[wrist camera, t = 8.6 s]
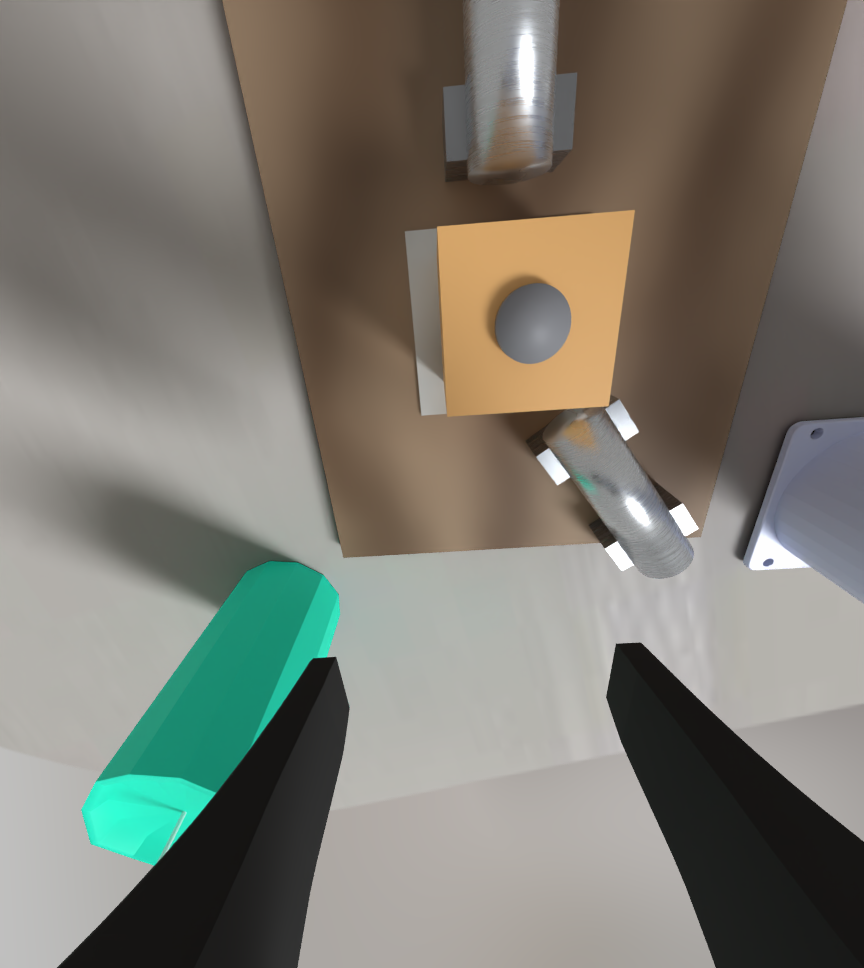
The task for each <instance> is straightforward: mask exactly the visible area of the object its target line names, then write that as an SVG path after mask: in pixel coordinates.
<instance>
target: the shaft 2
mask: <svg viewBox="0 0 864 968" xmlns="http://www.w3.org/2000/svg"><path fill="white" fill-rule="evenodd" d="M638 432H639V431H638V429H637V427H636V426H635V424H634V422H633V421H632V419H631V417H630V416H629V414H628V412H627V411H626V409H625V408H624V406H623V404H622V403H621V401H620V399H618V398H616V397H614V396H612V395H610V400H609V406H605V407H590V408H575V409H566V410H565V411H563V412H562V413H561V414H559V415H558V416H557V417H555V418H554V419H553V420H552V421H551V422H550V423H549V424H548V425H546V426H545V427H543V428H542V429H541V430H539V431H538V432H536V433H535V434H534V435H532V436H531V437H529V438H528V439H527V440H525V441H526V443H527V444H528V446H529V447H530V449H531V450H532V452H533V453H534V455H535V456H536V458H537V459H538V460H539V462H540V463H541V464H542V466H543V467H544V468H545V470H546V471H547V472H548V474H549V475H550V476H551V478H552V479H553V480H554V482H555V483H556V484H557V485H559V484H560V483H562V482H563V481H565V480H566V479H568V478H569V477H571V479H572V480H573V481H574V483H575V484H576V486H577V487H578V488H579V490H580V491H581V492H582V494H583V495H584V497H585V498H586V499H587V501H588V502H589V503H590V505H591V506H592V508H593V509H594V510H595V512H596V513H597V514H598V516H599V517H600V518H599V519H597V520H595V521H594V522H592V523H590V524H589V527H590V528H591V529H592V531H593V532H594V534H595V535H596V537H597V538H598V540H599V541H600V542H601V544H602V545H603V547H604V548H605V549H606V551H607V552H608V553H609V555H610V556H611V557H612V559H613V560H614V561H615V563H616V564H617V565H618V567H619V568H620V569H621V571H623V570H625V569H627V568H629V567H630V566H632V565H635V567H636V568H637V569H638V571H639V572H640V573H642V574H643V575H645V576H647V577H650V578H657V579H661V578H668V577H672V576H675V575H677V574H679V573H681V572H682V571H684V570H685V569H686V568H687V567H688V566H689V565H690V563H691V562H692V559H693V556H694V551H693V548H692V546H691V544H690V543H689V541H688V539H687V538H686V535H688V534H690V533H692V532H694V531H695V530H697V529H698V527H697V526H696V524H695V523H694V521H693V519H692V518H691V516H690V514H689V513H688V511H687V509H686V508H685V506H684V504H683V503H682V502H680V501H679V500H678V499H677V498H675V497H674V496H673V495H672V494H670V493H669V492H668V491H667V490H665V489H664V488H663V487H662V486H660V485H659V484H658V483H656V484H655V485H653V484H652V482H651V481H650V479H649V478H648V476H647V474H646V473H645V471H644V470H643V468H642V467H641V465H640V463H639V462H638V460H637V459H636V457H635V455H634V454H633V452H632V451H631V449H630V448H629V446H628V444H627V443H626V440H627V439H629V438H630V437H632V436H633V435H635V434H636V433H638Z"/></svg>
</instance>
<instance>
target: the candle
mask: <svg viewBox="0 0 864 968" xmlns="http://www.w3.org/2000/svg"><path fill="white" fill-rule="evenodd" d="M339 616H340V608H339V594H338V593H337V592H336V591H335V589H334V588H333V587H332V585H331V584H330V583H329V582H328V580H327V579H326V578H325V577H324V575H322V574H320V573H318V572H316V571H314V570H312V569H310V568H308V567H306V566H304V565H302V564H300V563H298V562H278V561H268V562H266V563H264V564H262V565H259V566H257V567H255V568H253V569H251V570H248V571H247V572H246V573H245V574H244V576H243V577H242V579H241V580H240V581H239V583H238V584H237V586H236V587H235V588H234V590H233V591H232V593H231V594H230V595H229V597H228V598H227V600H226V601H225V602H224V604H223V605H222V607H221V608H220V609H219V611H218V612H217V614H216V615H215V616H214V618H213V619H212V620H211V622H210V623H209V625H208V626H207V627H206V629H205V630H204V632H203V633H202V634H201V636H200V637H199V639H198V640H197V641H196V643H195V644H194V646H193V647H192V648H191V650H190V651H189V653H188V654H187V655H186V657H185V658H184V659H183V661H182V662H181V664H180V665H179V666H178V668H177V669H176V671H175V672H174V673H173V675H172V676H171V678H170V679H169V680H168V682H167V683H166V685H165V686H164V687H163V689H162V690H161V692H160V693H159V694H158V696H157V697H156V699H155V700H154V701H153V703H152V704H151V705H150V707H149V708H148V710H147V711H146V712H145V714H144V715H143V717H142V718H141V719H140V721H139V722H138V724H137V725H136V726H135V728H134V729H133V731H132V732H131V733H130V735H129V736H128V738H127V739H126V740H125V742H124V743H123V744H122V746H121V747H120V749H119V750H118V751H117V753H116V754H115V756H114V757H113V758H112V760H111V761H110V763H109V764H108V765H107V767H106V768H105V770H104V771H103V772H102V774H101V775H100V777H99V778H98V779H97V781H96V782H95V784H94V786H93V788H92V790H91V792H90V794H89V796H88V798H87V800H86V802H85V804H84V806H83V807H82V809H81V810H82V814H83V818H84V821H85V825H86V829H87V832H88V836H89V839H90V842H91V844H92V845H95V846H98V847H101V848H104V849H107V850H109V851H112V852H115V853H118V854H121V855H124V856H127V857H130V858H133V859H136V860H139V861H142V862H145V863H148V864H151V865H154V866H155V864H156V863H157V862H158V861H159V860H160V859H161V858H162V857H163V856H164V854H165V853H166V852H167V851H168V850H169V849H170V848H171V846H172V845H173V844H174V843H175V842H176V841H177V839H178V838H179V837H180V836H181V835H182V834H183V832H184V831H185V830H186V829H187V828H188V827H189V825H190V824H191V823H192V822H193V821H194V820H195V818H196V817H197V816H198V815H199V814H200V812H201V811H202V810H203V809H204V807H205V806H206V805H207V804H208V802H209V801H210V800H211V799H212V798H213V796H214V795H215V794H216V793H217V791H218V790H219V789H220V787H221V786H222V785H223V784H224V782H225V781H226V780H227V778H228V777H229V776H230V774H231V773H232V772H233V771H234V769H235V768H236V767H237V765H238V764H239V763H240V761H241V760H242V759H243V758H244V756H245V755H246V754H247V752H248V751H249V750H250V748H251V747H252V745H253V744H254V743H255V741H256V740H257V738H258V737H259V736H260V734H261V733H262V731H263V730H264V729H265V727H266V726H267V724H268V723H269V722H270V720H271V719H272V717H273V716H274V715H275V713H276V712H277V710H278V709H279V707H280V706H281V704H282V703H283V701H284V700H285V699H286V697H287V696H288V694H289V693H290V691H291V690H292V688H293V687H294V685H295V684H296V682H297V681H298V679H299V677H300V676H301V674H302V673H303V671H304V670H305V668H306V667H307V665H308V664H309V662H310V661H311V660H312V659H313V658H326V657H327V654H328V651H329V648H330V645H331V642H332V639H333V635H334V632H335V629H336V626H337V623H338V619H339Z"/></svg>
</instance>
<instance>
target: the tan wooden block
mask: <svg viewBox="0 0 864 968" xmlns="http://www.w3.org/2000/svg"><path fill="white" fill-rule="evenodd" d="M634 214H635V210H628V211H616V212H604V213H592V214H580V215H569V216H557V217H545V218H533V219H521V220H510V221H498V222H486V223H474V224H462V225H451V226H439V227H437V273H438V291H439V309H440V327H441V345H442V364H443V381H444V391H445V401H446V410H447V417H452V416H467V415H483V414H498V413H513V412H529V411H544V410H559V409H575V408H590V407H605V406H609V400H610V393H611V386H612V378H613V371H614V363H615V356H616V348H617V341H618V333H619V326H620V318H621V311H622V303H623V296H624V288H625V281H626V274H627V266H628V259H629V251H630V244H631V236H632V229H633V221H634Z"/></svg>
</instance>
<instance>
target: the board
mask: <svg viewBox="0 0 864 968" xmlns="http://www.w3.org/2000/svg"><path fill="white" fill-rule="evenodd" d="M222 2H223V7H224V11H225V16H226V20H227V25H228V30H229V34H230V39H231V43H232V48H233V53H234V57H235V62H236V66H237V71H238V76H239V80H240V85H241V89H242V94H243V98H244V103H245V108H246V112H247V117H248V121H249V126H250V131H251V135H252V140H253V144H254V149H255V154H256V158H257V163H258V167H259V172H260V177H261V181H262V186H263V190H264V195H265V200H266V204H267V209H268V213H269V218H270V223H271V227H272V232H273V236H274V241H275V246H276V250H277V255H278V259H279V264H280V269H281V273H282V278H283V282H284V287H285V292H286V296H287V301H288V305H289V310H290V314H291V319H292V324H293V328H294V333H295V337H296V342H297V347H298V351H299V356H300V360H301V365H302V370H303V374H304V379H305V383H306V388H307V393H308V397H309V402H310V406H311V411H312V416H313V420H314V425H315V429H316V434H317V439H318V443H319V448H320V452H321V457H322V462H323V466H324V471H325V475H326V480H327V485H328V489H329V494H330V498H331V503H332V508H333V512H334V517H335V521H336V526H337V530H338V535H339V540H340V544H341V549H342V553H343V558H347V557H365V556H382V555H399V554H416V553H433V552H451V551H468V550H485V549H502V548H519V547H537V546H554V545H571V544H588V543H601V542H600V541H599V540H598V538H597V537H596V535H595V534H594V532H593V531H592V529H591V528H590V527H589V524H590V523H592V522H594V521H595V520H597V519H599V518H600V517H599V516H598V514H597V513H596V512H595V510H594V509H593V508H592V506H591V505H590V503H589V502H588V501H587V499H586V498H585V497H584V495H583V494H582V492H581V491H580V490H579V488H578V487H577V486H576V484H575V483H574V481H573V480H572V479H571V477H569V478H568V479H566V480H565V481H563V482H562V483H560V484H559V485H557V484H556V483H555V482H554V480H553V479H552V478H551V476H550V475H549V474H548V472H547V471H546V470H545V468H544V467H543V466H542V464H541V463H540V462H539V460H538V459H537V458H536V456H535V455H534V453H533V452H532V450H531V449H530V447H529V446H528V444H527V443H526V441H525V440H527V439H528V438H529V437H531V436H532V435H534V434H535V433H536V432H538V431H539V430H541V429H542V428H543V427H545V426H546V425H548V424H549V423H550V422H551V421H552V420H553V419H554V418H555V417H557V416H558V415H559V414H561V413H562V412H563V411H565V410H566V409H559V410H544V411H529V412H513V413H498V414H483V415H467V416H452V417H447V410H446V401H445V391H444V381H443V364H442V345H441V327H440V309H439V291H438V273H437V227H439V226H451V225H462V224H474V223H486V222H498V221H510V220H521V219H533V218H545V217H557V216H569V215H580V214H592V213H604V212H616V211H628V210H635V214H634V221H633V229H632V236H631V244H630V251H629V259H628V266H627V274H626V281H625V288H624V296H623V303H622V311H621V318H620V326H619V333H618V341H617V348H616V356H615V363H614V371H613V378H612V386H611V393H610V395H612V396H614V397H616V398H618V399H620V401H621V403H622V404H623V406H624V408H625V409H626V411H627V412H628V414H629V416H630V417H631V419H632V421H633V422H634V424H635V426H636V427H637V429H638V431H639V432H638V433H636V434H635V435H633V436H632V437H630V438H629V439H627V440H626V443H627V444H628V446H629V448H630V449H631V451H632V452H633V454H634V455H635V457H636V459H637V460H638V462H639V463H640V465H641V467H642V468H643V470H644V471H645V473H646V474H647V476H648V478H649V479H650V481H651V482H652V484H653V485H655V484H656V483H658V484H659V485H660V486H662V487H663V488H664V489H665V490H667V491H668V492H669V493H670V494H672V495H673V496H674V497H675V498H677V499H678V500H679V501H680V502H682V503H683V504H684V506H685V508H686V509H687V511H688V513H689V514H690V516H691V518H692V519H693V521H694V523H695V524H696V526H697V527H698V529H697V530H695V531H694V532H692V533H690V534H688V535H686V538H692V537H701V534H702V530H703V527H704V523H705V519H706V516H707V512H708V508H709V505H710V501H711V497H712V494H713V490H714V486H715V483H716V479H717V475H718V472H719V468H720V464H721V461H722V457H723V454H724V450H725V446H726V443H727V439H728V435H729V432H730V428H731V424H732V421H733V417H734V413H735V410H736V406H737V402H738V399H739V395H740V391H741V388H742V384H743V380H744V377H745V373H746V369H747V366H748V362H749V358H750V355H751V351H752V347H753V344H754V340H755V336H756V333H757V329H758V325H759V322H760V318H761V314H762V311H763V307H764V303H765V300H766V296H767V292H768V289H769V285H770V282H771V278H772V274H773V271H774V267H775V263H776V260H777V256H778V252H779V249H780V245H781V241H782V238H783V234H784V230H785V227H786V223H787V219H788V216H789V212H790V208H791V205H792V201H793V197H794V194H795V190H796V186H797V183H798V179H799V175H800V172H801V168H802V164H803V161H804V157H805V153H806V150H807V146H808V142H809V139H810V135H811V131H812V128H813V124H814V120H815V117H816V113H817V110H818V106H819V102H820V99H821V95H822V91H823V88H824V84H825V80H826V77H827V73H828V69H829V66H830V62H831V58H832V55H833V51H834V47H835V44H836V40H837V36H838V33H839V29H840V25H841V22H842V18H843V14H844V11H845V7H846V3H847V0H560V6H559V27H558V48H557V69H556V75H558V74H567V73H576V72H577V85H576V101H575V116H574V132H573V147H572V150H571V151H570V152H569V153H568V155H567V156H566V157H565V158H564V159H563V160H562V162H561V163H560V164H559V165H558V166H557V167H556V168H555V170H554V171H553V172H546V173H544V174H542V175H540V176H538V177H536V178H533V179H530V180H526V181H522V182H518V183H513V184H506V185H478V184H474V183H472V182H470V181H469V180H464V181H454V182H445V171H444V151H443V131H442V105H443V87H448V86H457V85H465V65H464V30H463V0H222Z"/></svg>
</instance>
